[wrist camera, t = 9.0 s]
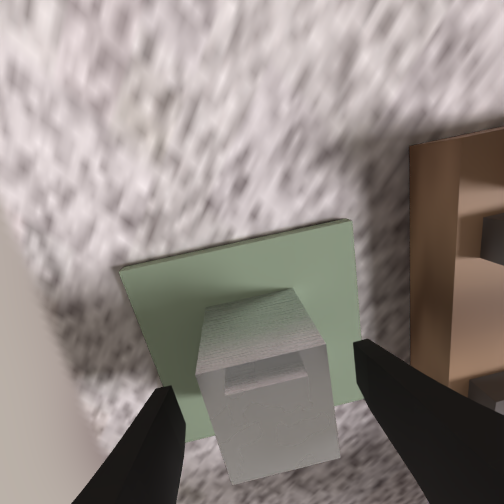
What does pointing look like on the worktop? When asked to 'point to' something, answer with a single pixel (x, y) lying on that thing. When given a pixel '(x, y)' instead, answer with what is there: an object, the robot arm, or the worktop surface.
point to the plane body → (459, 264)
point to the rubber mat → (244, 286)
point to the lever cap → (267, 386)
